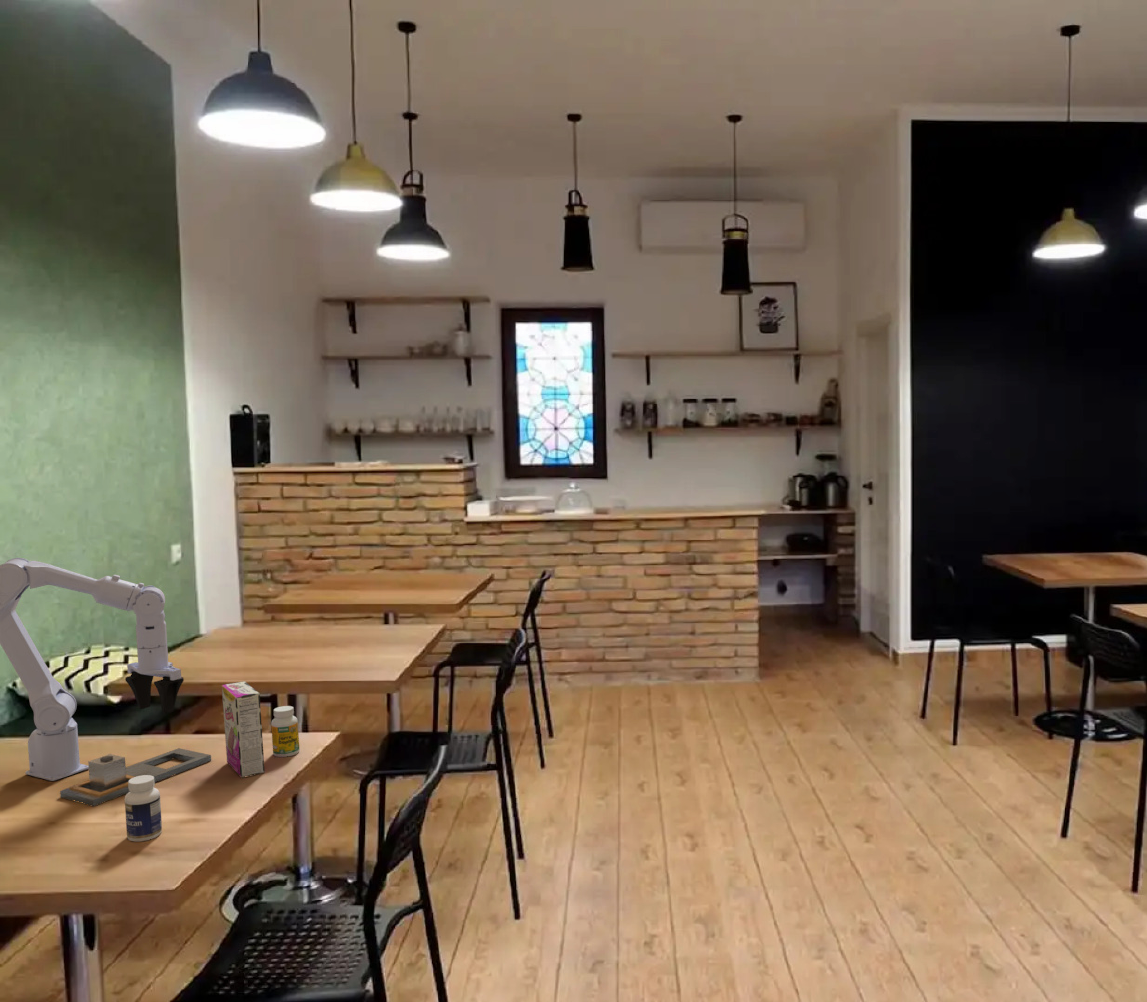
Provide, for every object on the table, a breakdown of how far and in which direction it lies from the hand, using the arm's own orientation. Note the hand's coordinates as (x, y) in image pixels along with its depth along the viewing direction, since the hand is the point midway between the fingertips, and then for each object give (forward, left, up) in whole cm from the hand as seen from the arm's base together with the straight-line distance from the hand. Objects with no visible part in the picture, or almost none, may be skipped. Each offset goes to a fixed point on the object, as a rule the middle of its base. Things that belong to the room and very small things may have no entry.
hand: (156, 710), depth 195 cm
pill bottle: (+31, -26, -11) cm, 42 cm away
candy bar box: (+21, +4, -11) cm, 24 cm away
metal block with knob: (+6, -16, -10) cm, 20 cm away
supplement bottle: (+22, +14, -11) cm, 28 cm away
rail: (+6, -9, -10) cm, 15 cm away
